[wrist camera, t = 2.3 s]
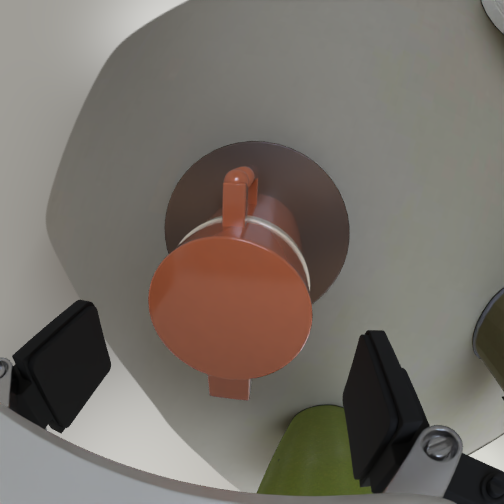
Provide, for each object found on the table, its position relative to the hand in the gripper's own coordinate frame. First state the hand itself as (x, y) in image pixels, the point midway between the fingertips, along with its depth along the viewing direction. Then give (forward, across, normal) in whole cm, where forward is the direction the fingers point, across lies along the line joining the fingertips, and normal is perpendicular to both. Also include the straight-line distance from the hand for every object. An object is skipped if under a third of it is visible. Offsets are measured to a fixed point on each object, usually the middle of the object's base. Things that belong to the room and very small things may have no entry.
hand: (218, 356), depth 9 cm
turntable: (+14, 0, 0) cm, 15 cm away
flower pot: (+15, -8, +22) cm, 28 cm away
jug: (+13, 0, -1) cm, 13 cm away
